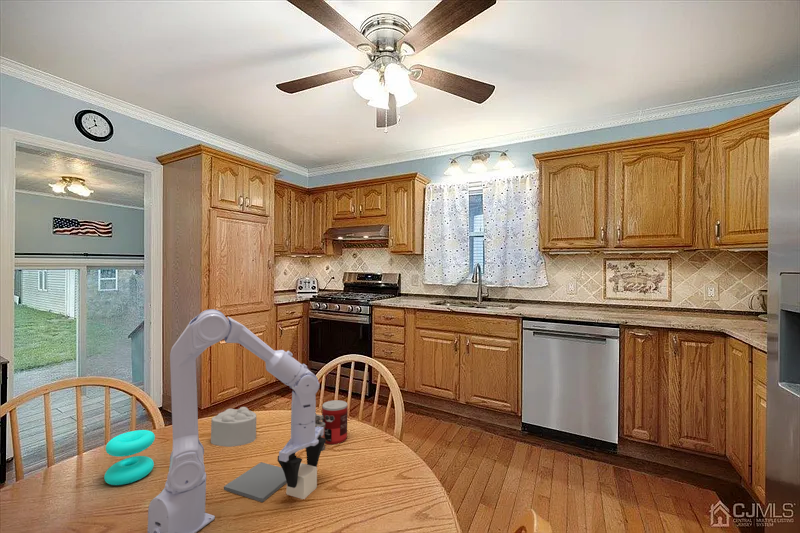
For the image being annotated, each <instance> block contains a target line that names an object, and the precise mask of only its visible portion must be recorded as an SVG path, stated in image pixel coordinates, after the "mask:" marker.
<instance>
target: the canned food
mask: <svg viewBox="0 0 800 533" xmlns="http://www.w3.org/2000/svg"><path fill="white" fill-rule="evenodd" d="M348 411H349V410H348V402H346V401H345V400H338V399H334V400H333V399H332V400H329V401H325V402H323V403H322V406H321V415H322V416H323V420H322V422H324V423H325V434H324V438H325V439H326V442H325V444H327V445H338V443H339V444H341V442H342V443H343V442H345V441H346V440H347V436H348Z"/></svg>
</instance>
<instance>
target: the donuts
mask: <svg viewBox="0 0 800 533" xmlns="http://www.w3.org/2000/svg"><path fill="white" fill-rule="evenodd" d="M155 439H156V435H155V433H154V432H153V431H152V430H148V429H138V430H131V431H127V432H124V433H120V434H118V435H116V436H114V437H113V438H111V439H110V440H108V442H107V443H106V445H105V452H106V454H108V455H110V456H112V457H117V458H118V457H119V458H120V457H122V458H123V457H126V458H123V459H122V460H119V461H117V462H115V463H113V464H112V465H111V466H110V467H109V468H107V469H106V471H105V473H104V477H103V478H104V482H105V483H107V484H108V485H110V486H123V485H128V484H132V483H135V482H136V481H139V480H142V479H143V478H145V477H146V476H147V475H149V474H150V473H151V472H152V471H153V469H154V466H155V463H154V460H153V458H151V457H150V456H147V455H137V454H139V453H141V452H143V451H145V450H146V449H149V447H150V446H152V445H153V443H154V442H155ZM132 455H134V456H132ZM128 456H129V457H128Z"/></svg>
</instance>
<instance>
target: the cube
mask: <svg viewBox="0 0 800 533" xmlns="http://www.w3.org/2000/svg"><path fill="white" fill-rule="evenodd" d="M317 487H318V466H317V467H315V466H311V465H307V463H304V462H301V464H300V467H299V471H298V481H297V486H296V487H295V488H292V487H289V486H287V485H286V493H285V494H286V495H287V496H291V497H294V498H298V499H301V500H303V499H304V500H306V498H307V497H309V495H310V494H312V492H314V491H315V490H316V489H317Z"/></svg>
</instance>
